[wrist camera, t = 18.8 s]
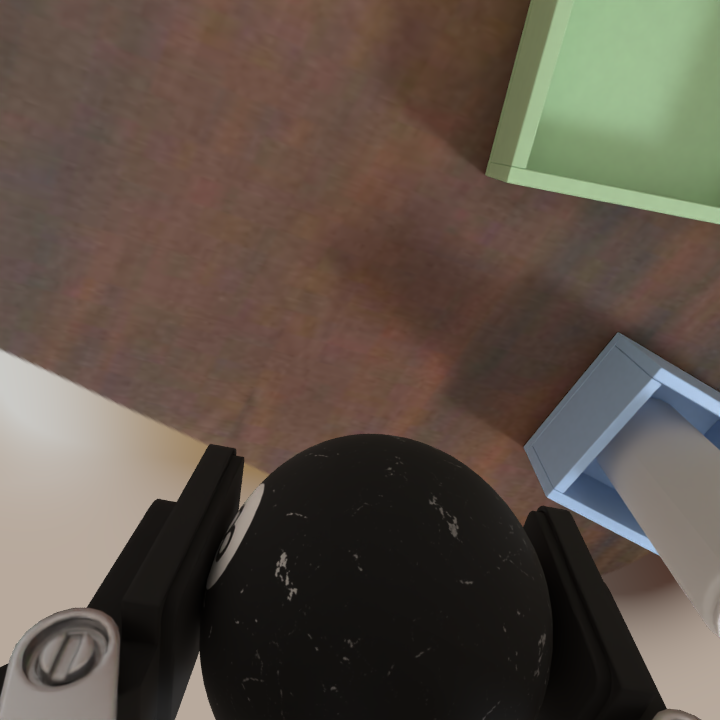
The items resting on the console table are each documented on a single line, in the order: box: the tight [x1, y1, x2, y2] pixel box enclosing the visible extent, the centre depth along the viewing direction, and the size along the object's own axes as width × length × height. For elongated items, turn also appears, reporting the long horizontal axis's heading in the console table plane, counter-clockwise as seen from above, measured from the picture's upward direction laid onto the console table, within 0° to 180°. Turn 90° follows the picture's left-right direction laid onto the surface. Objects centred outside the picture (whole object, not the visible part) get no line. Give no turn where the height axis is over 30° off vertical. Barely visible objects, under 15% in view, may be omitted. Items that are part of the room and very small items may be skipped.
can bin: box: [524, 332, 720, 556], centre depth 27 cm, size 8×8×5 cm
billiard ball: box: [199, 434, 553, 720], centre depth 9 cm, size 6×6×6 cm
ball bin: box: [485, 0, 720, 224], centre depth 20 cm, size 11×12×5 cm
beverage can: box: [595, 397, 720, 638], centre depth 23 cm, size 5×5×12 cm
